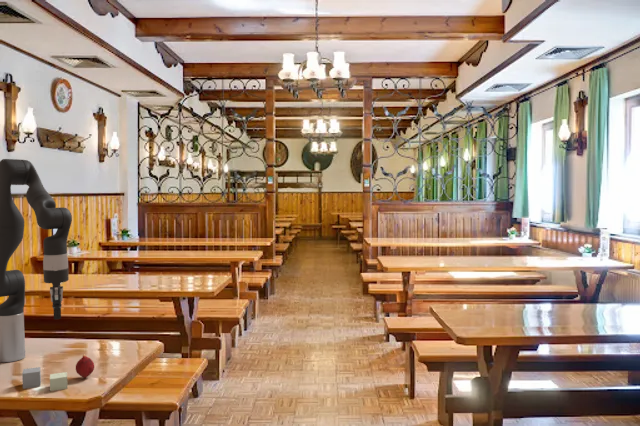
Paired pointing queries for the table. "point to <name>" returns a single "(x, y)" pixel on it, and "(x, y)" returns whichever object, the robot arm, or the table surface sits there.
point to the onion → (84, 366)
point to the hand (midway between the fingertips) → (57, 318)
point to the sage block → (58, 381)
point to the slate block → (31, 377)
